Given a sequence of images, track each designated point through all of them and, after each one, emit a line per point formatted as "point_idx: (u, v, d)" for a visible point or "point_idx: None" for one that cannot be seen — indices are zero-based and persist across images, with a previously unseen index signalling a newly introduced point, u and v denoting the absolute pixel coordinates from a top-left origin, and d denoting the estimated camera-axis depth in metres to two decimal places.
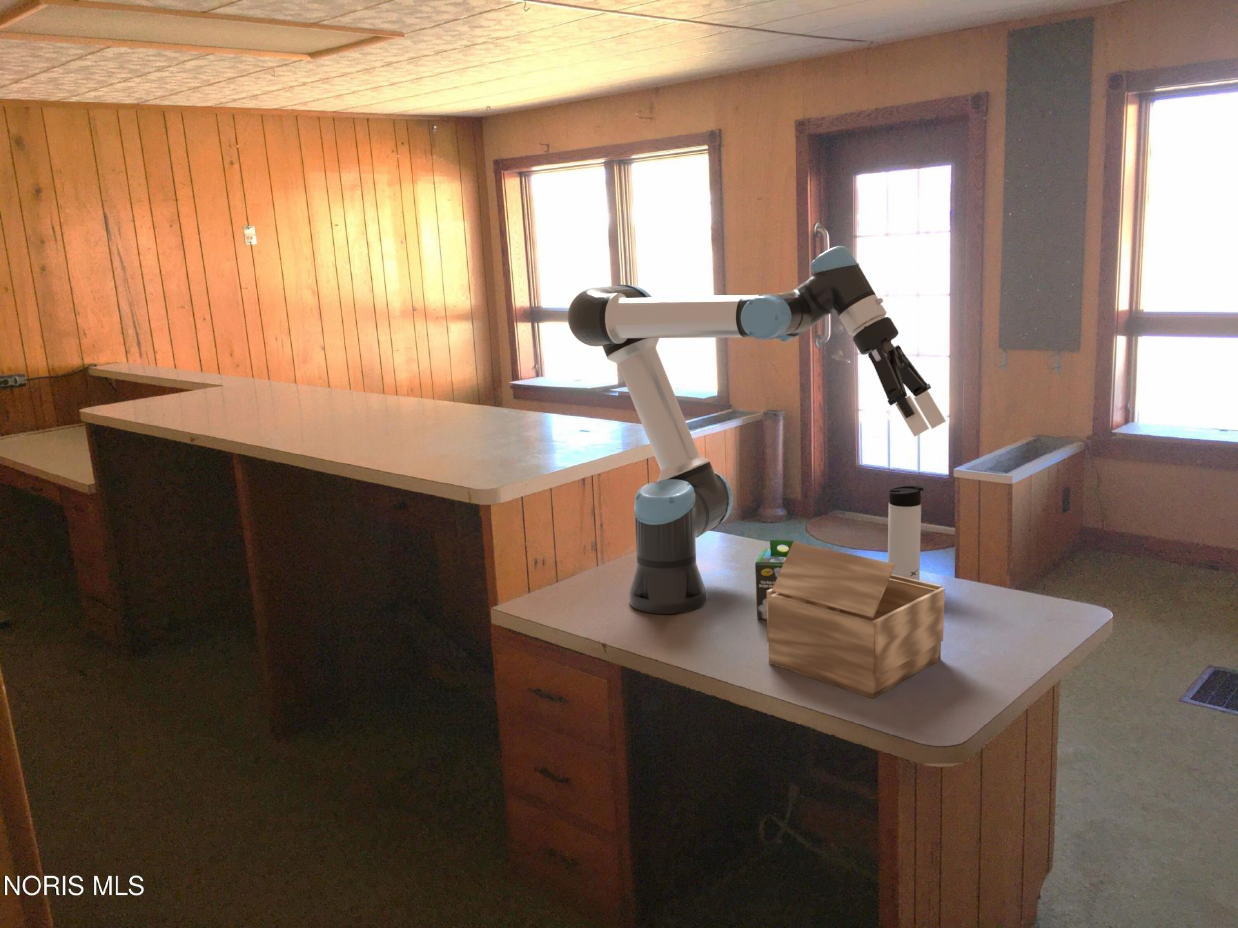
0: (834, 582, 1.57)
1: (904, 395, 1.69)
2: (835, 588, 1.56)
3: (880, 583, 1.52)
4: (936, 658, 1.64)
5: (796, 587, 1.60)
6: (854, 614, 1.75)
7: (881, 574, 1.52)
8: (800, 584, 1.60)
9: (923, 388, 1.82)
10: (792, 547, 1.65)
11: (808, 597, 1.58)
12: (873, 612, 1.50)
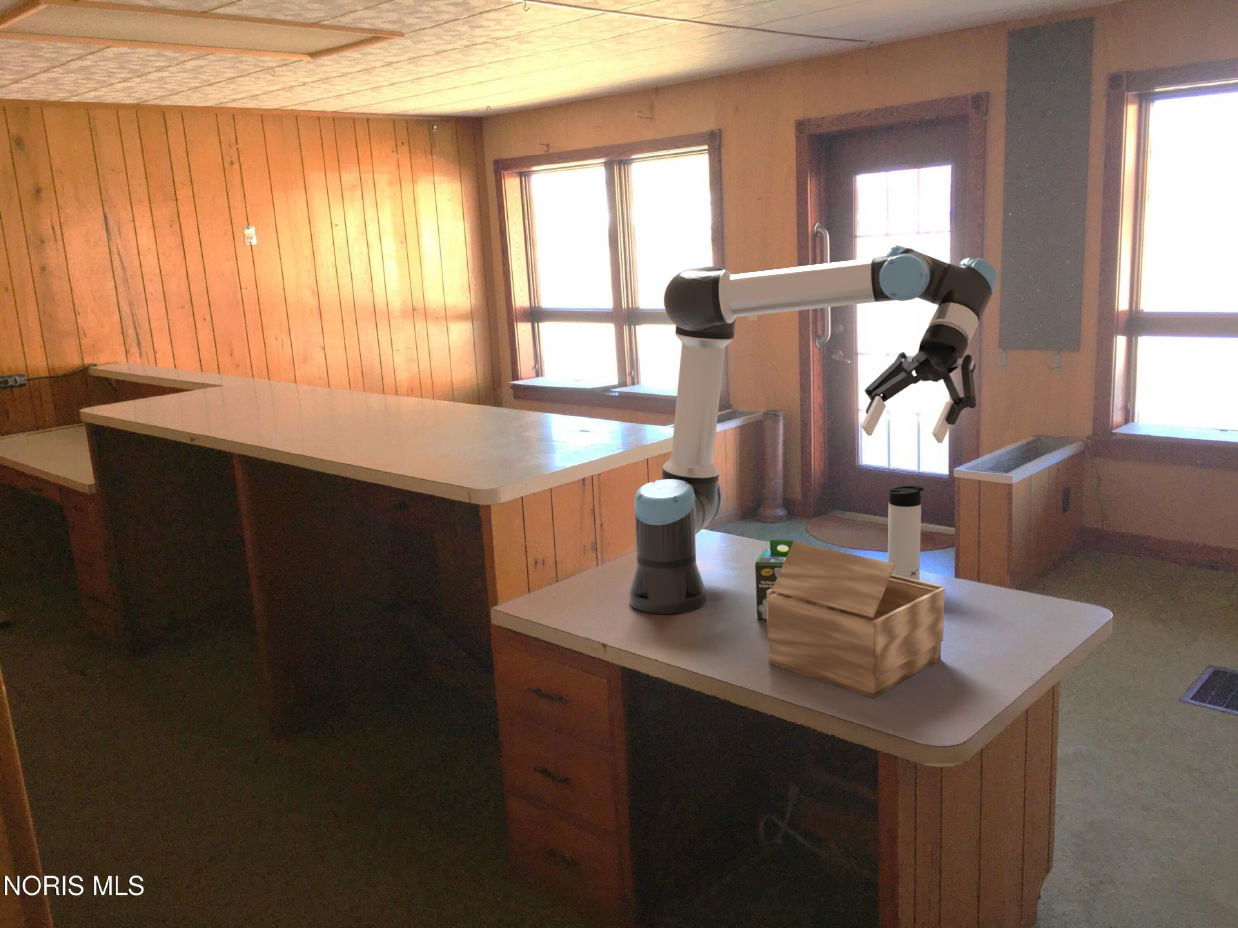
0: (834, 582, 1.57)
1: (962, 408, 1.64)
2: (835, 588, 1.56)
3: (880, 583, 1.52)
4: (936, 658, 1.64)
5: (796, 587, 1.60)
6: (854, 614, 1.75)
7: (881, 574, 1.52)
8: (800, 584, 1.60)
9: (884, 401, 1.75)
10: (792, 547, 1.65)
11: (808, 597, 1.58)
12: (873, 612, 1.50)
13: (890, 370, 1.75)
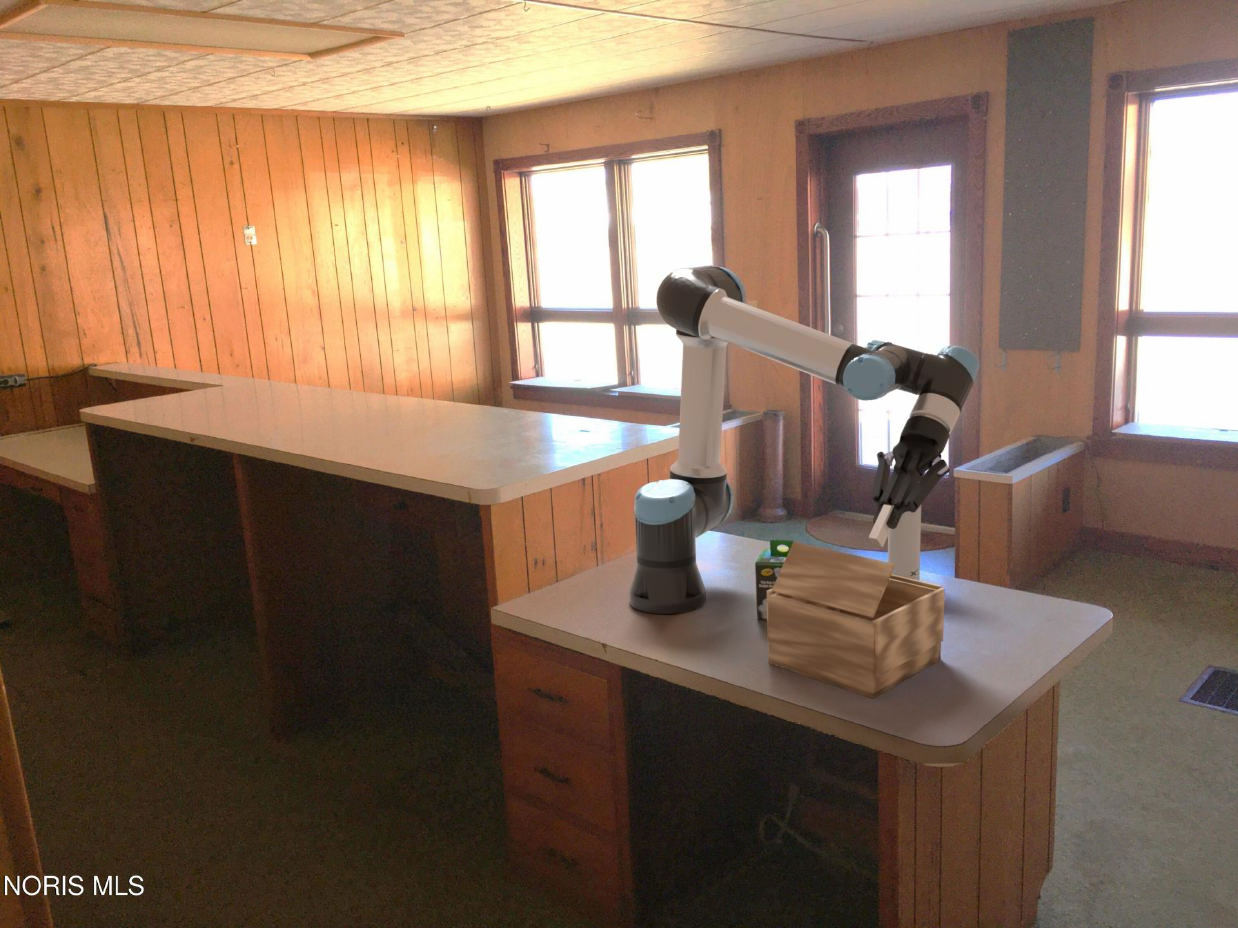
0: (834, 582, 1.57)
1: None
2: (835, 588, 1.56)
3: (880, 583, 1.52)
4: (936, 658, 1.64)
5: (796, 587, 1.60)
6: (854, 614, 1.75)
7: (881, 574, 1.52)
8: (800, 584, 1.60)
9: (891, 505, 1.67)
10: (792, 547, 1.65)
11: (808, 597, 1.58)
12: (873, 612, 1.50)
13: (881, 470, 1.70)
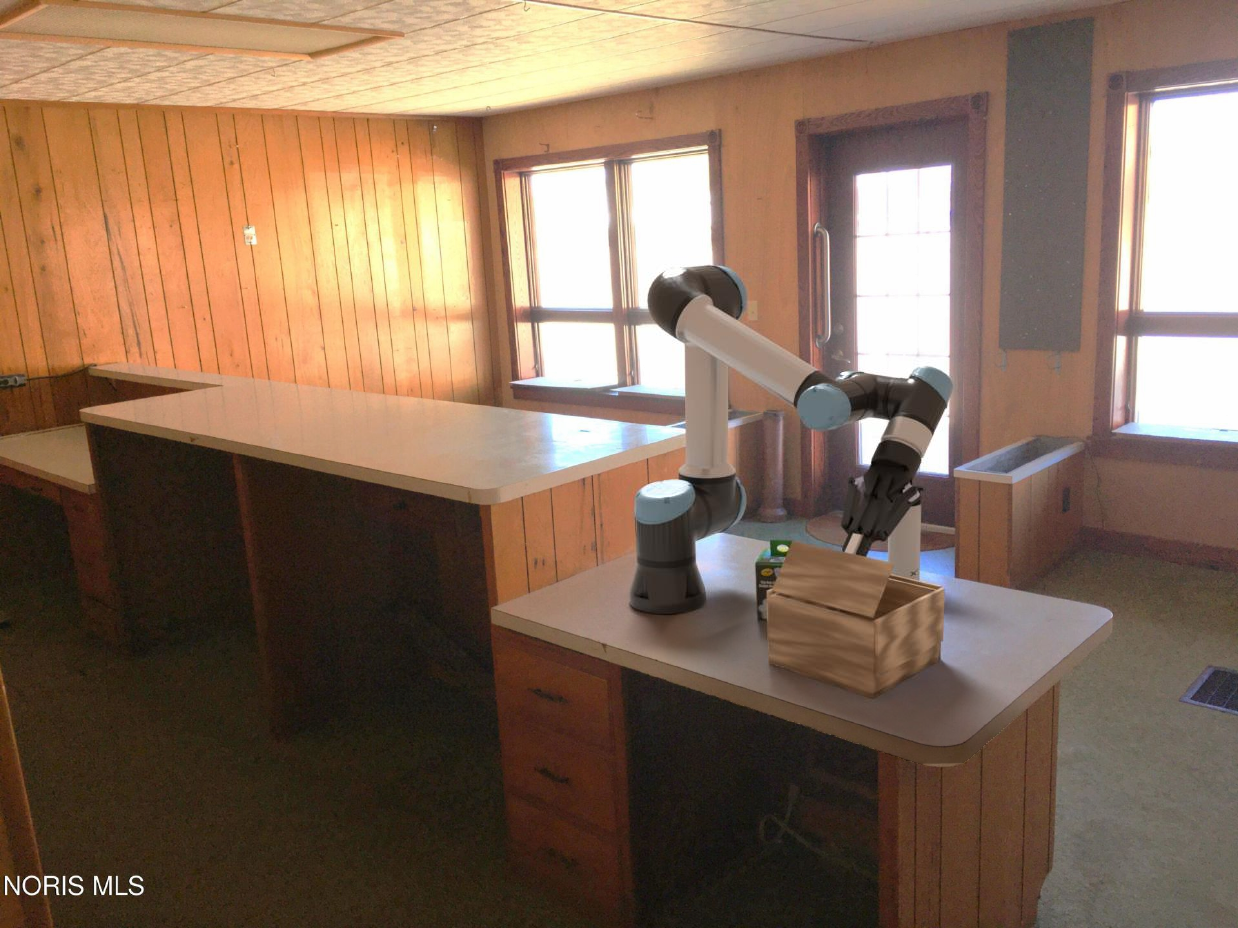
0: (834, 582, 1.57)
1: None
2: (835, 588, 1.56)
3: (880, 582, 1.51)
4: (936, 658, 1.64)
5: (796, 587, 1.60)
6: (854, 614, 1.75)
7: (880, 573, 1.52)
8: (799, 583, 1.60)
9: (861, 534, 1.62)
10: (791, 546, 1.65)
11: (808, 597, 1.58)
12: (873, 612, 1.50)
13: (852, 497, 1.65)
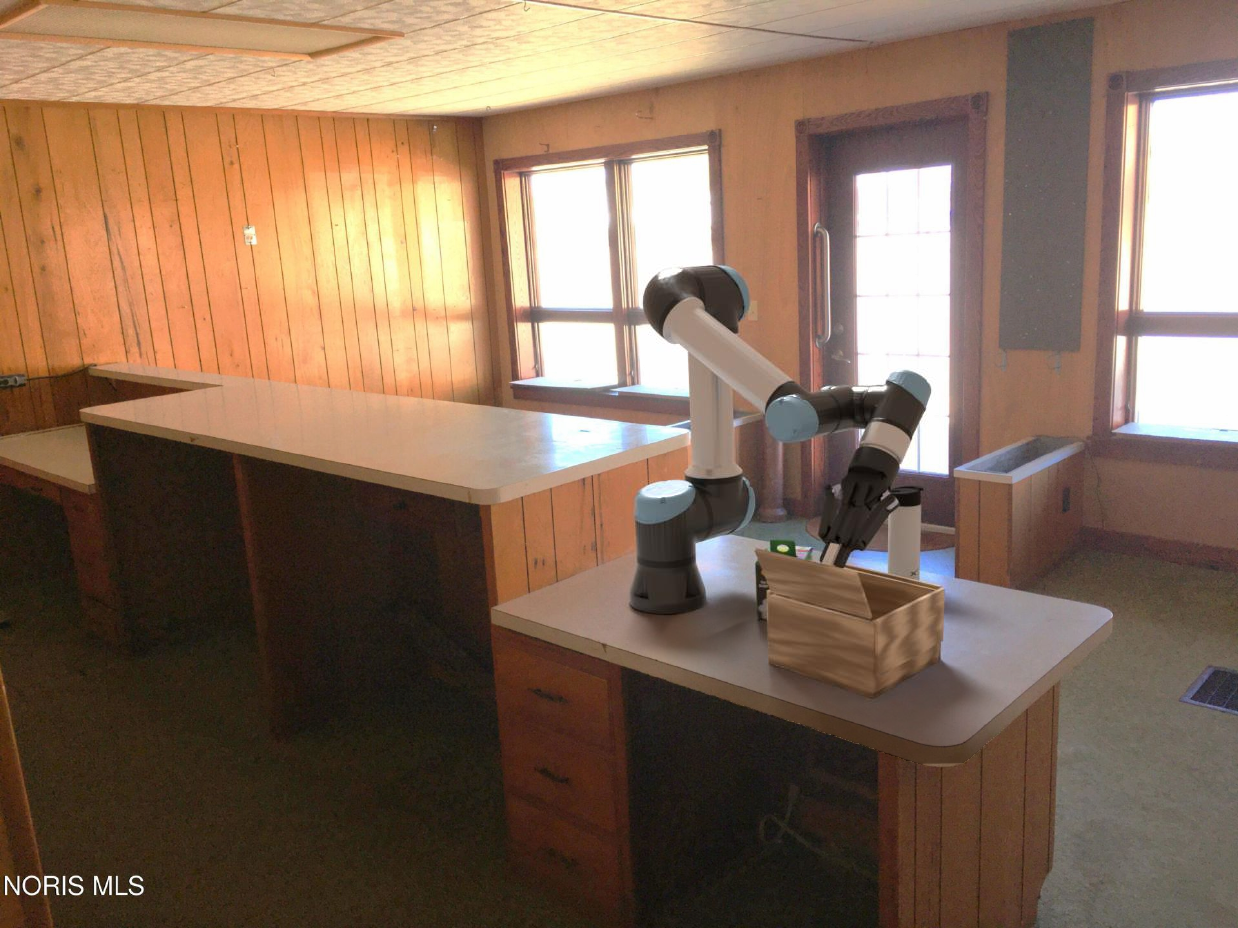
0: (817, 588, 1.54)
1: None
2: (822, 593, 1.54)
3: (857, 591, 1.47)
4: (936, 658, 1.64)
5: (789, 591, 1.59)
6: None
7: (852, 583, 1.47)
8: (790, 588, 1.59)
9: (839, 543, 1.58)
10: (758, 555, 1.59)
11: (806, 600, 1.58)
12: (869, 614, 1.49)
13: (829, 505, 1.60)
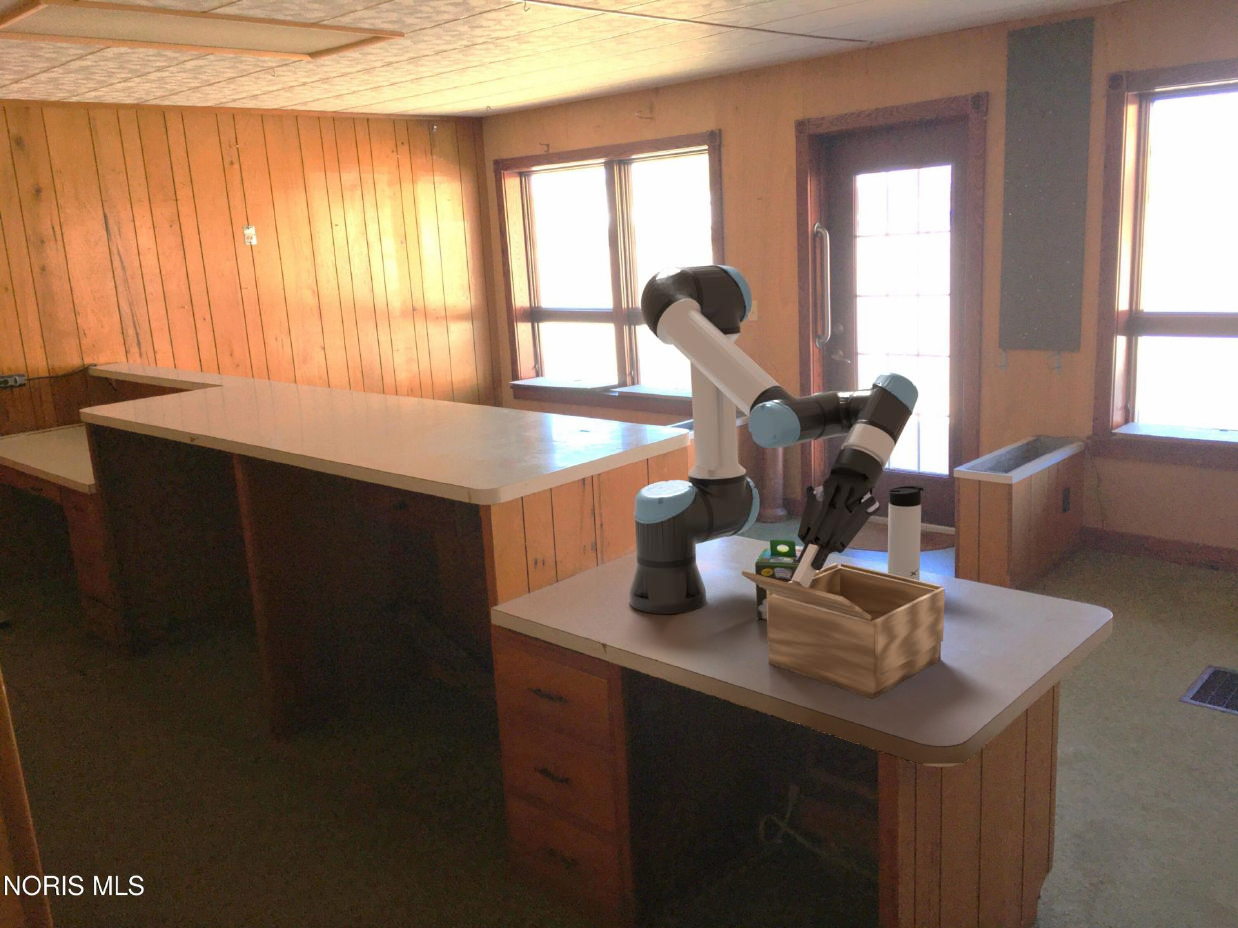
0: (812, 599, 1.53)
1: None
2: (818, 602, 1.53)
3: (849, 607, 1.46)
4: (936, 658, 1.64)
5: (787, 595, 1.59)
6: None
7: (842, 603, 1.46)
8: (787, 594, 1.58)
9: (819, 545, 1.55)
10: (746, 576, 1.58)
11: (805, 601, 1.58)
12: (868, 617, 1.49)
13: (810, 506, 1.58)
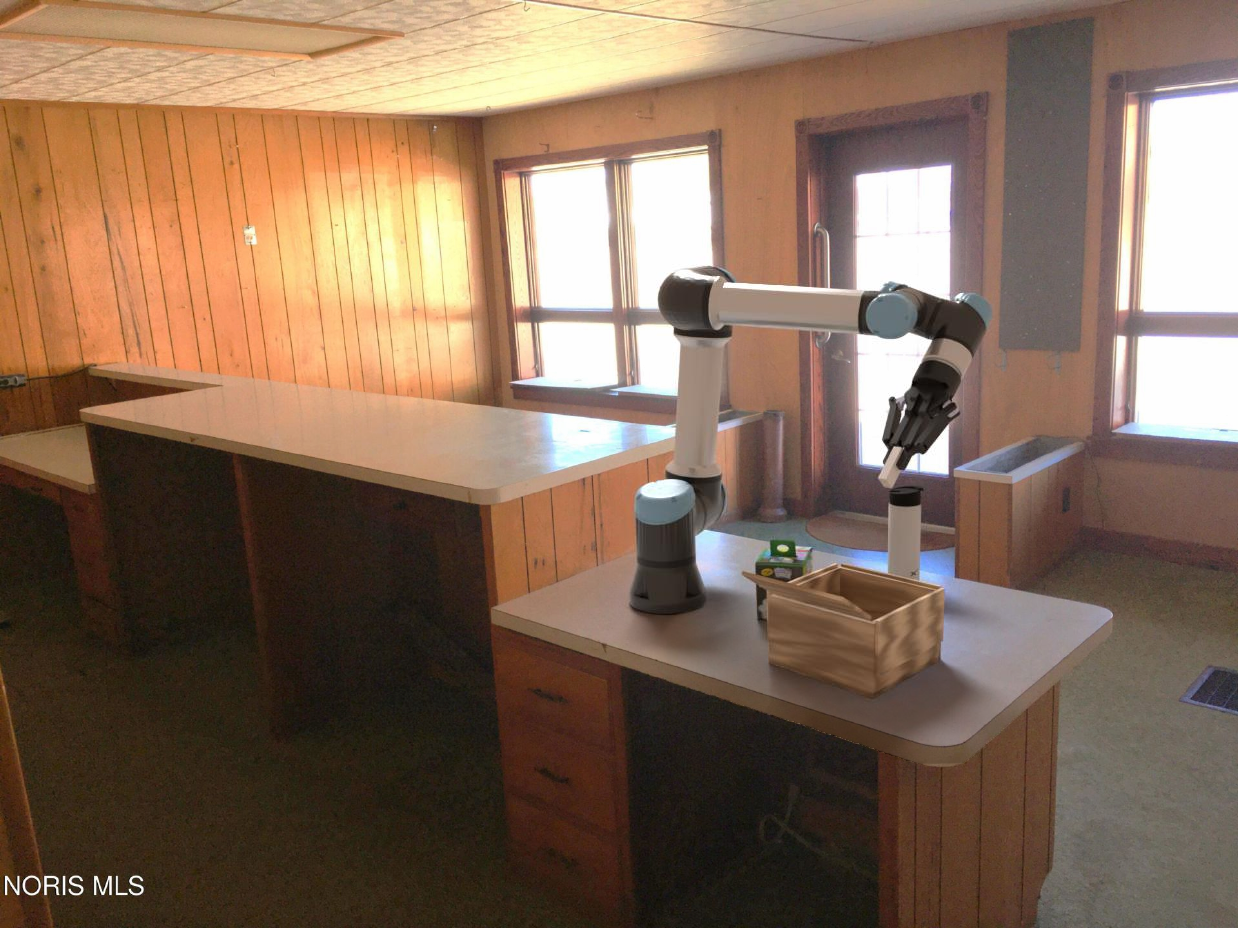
0: (812, 599, 1.53)
1: None
2: (818, 602, 1.53)
3: (849, 607, 1.46)
4: (936, 658, 1.64)
5: (787, 595, 1.59)
6: None
7: (842, 603, 1.46)
8: (787, 594, 1.58)
9: (902, 448, 1.69)
10: (746, 577, 1.58)
11: (805, 601, 1.58)
12: (868, 617, 1.49)
13: (893, 414, 1.71)
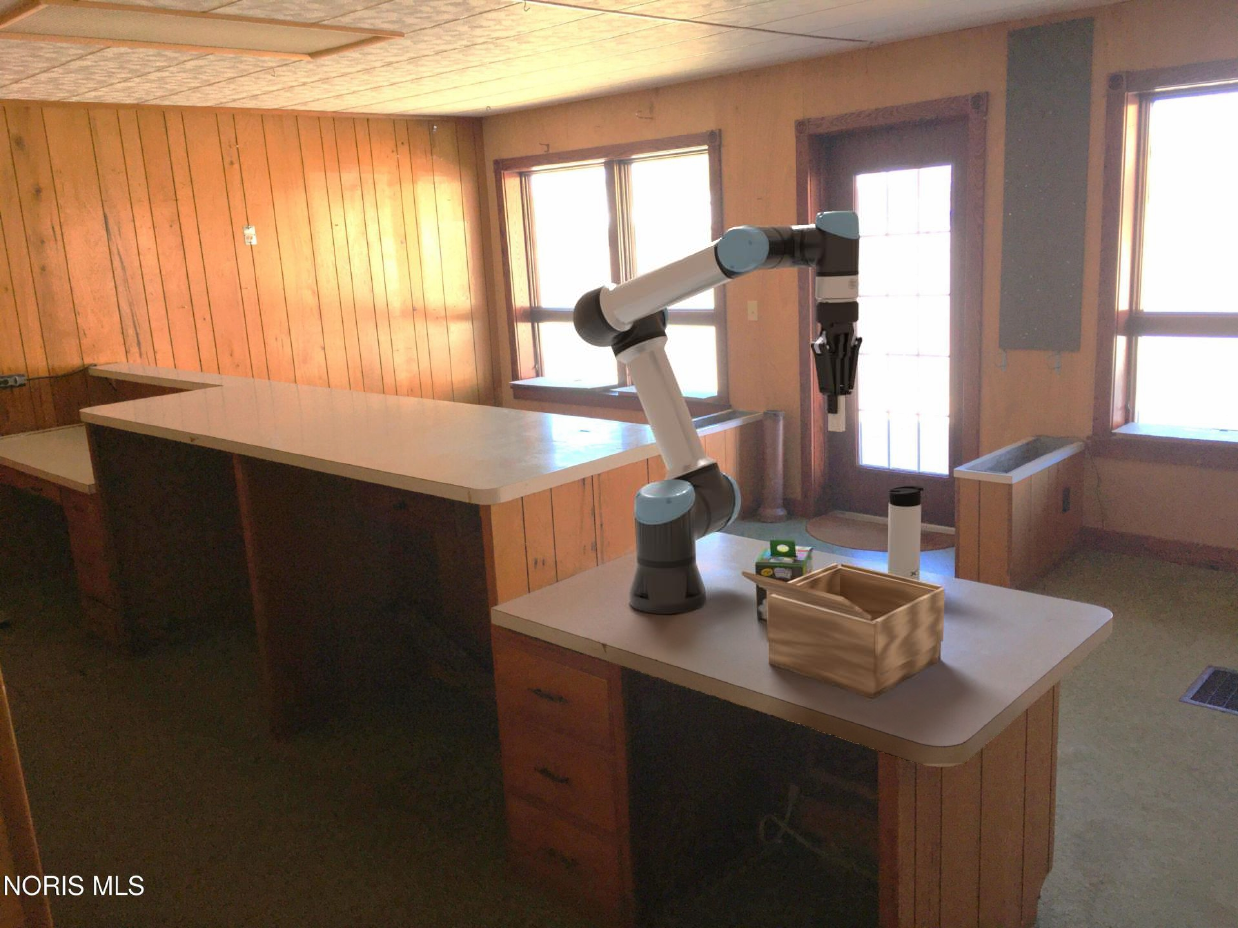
0: (812, 599, 1.53)
1: (836, 396, 1.80)
2: (818, 602, 1.53)
3: (849, 607, 1.46)
4: (936, 658, 1.64)
5: (787, 595, 1.59)
6: None
7: (842, 603, 1.46)
8: (787, 594, 1.58)
9: (843, 388, 1.81)
10: (746, 577, 1.58)
11: (805, 601, 1.58)
12: (868, 617, 1.49)
13: None
